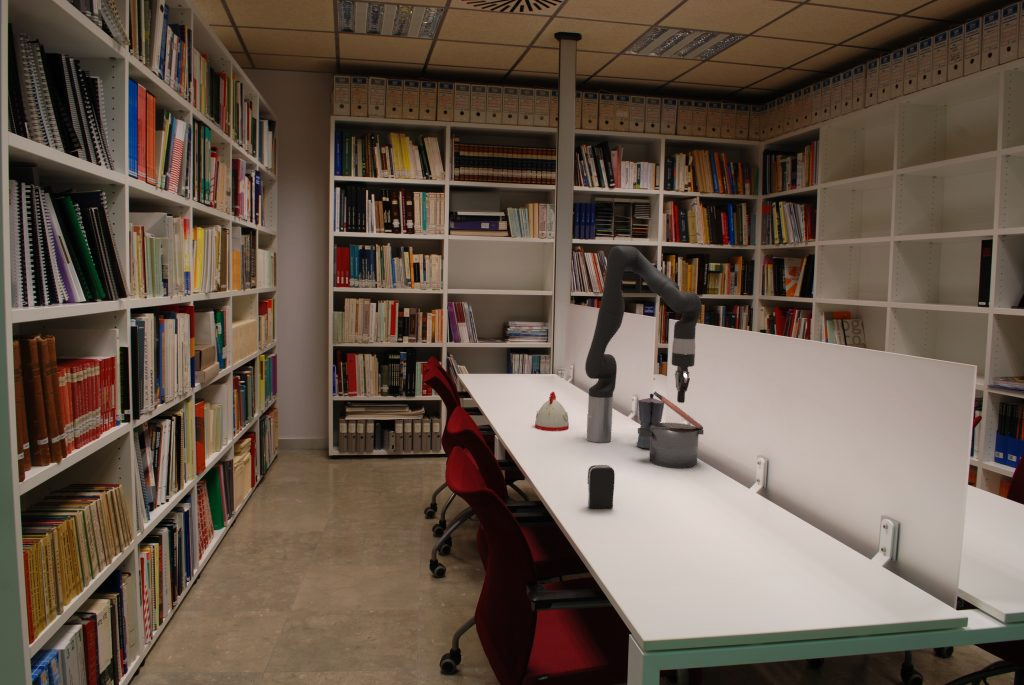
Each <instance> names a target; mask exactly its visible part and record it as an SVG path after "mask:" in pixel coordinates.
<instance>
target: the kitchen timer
mask: <svg viewBox="0 0 1024 685" xmlns="http://www.w3.org/2000/svg"><path fill="white" fill-rule="evenodd" d="M569 426H570V422H569V415H568V411H566V409H565V407H564V406H563V405H562V403H561V402H560V401H558V400H557V396H556V393H555V391H552V392H551V393H550V394H549V399H548V400H547V401H545V402H543V404H542V405H541V407H540V408H539V410H537V411H536V415H535V424H534V428H535V429H536V430H539V431H544V432H563V431H568V430H569V428H570V427H569Z"/></svg>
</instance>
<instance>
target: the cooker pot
mask: <svg viewBox="0 0 1024 685" xmlns="http://www.w3.org/2000/svg"><path fill="white" fill-rule="evenodd" d="M637 434H638V436H639V435H640V436H645V437H650V449H649V455H648V457H649V458H648V460H649V462H650V463H651V464H653V465H655V466H658V467H663V468H667V469H668V468H669V469H690V468H691V469H692V468H694V466H695V465H696V466H697V465H698V456H699V455H698V454H699V436H700V435H704V428H703V429H702V430H700V429H698V428H697V427H695V426H694V425H692V424H691V425H690V424H686V423H680V422H679V423H678V422H660V423H656V424H652V425H651V430H650V428H640V427H638V428H637ZM696 466H695V467H696Z"/></svg>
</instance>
